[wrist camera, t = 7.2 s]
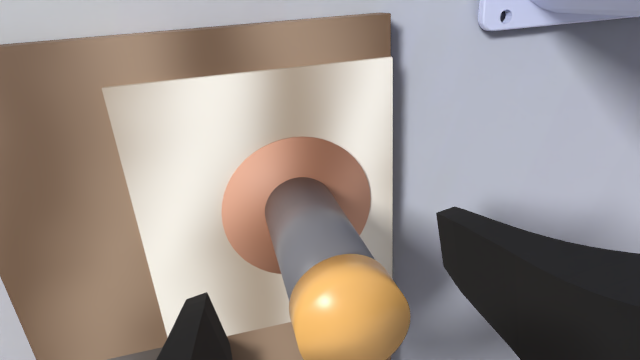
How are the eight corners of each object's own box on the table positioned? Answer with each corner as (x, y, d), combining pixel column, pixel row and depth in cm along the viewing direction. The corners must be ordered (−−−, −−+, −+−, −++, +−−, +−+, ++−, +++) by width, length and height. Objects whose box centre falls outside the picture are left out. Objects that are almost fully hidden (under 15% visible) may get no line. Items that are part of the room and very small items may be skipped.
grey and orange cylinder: (326, 164, 17) (400, 263, 11) (343, 228, 18) (417, 350, 12) (252, 189, 17) (283, 306, 10) (274, 252, 18) (313, 391, 12)
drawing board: (380, 12, 17) (415, 15, 14) (383, 394, 24) (406, 443, 22) (-76, 50, 14) (-144, 64, 11) (97, 470, 22) (82, 537, 19)
